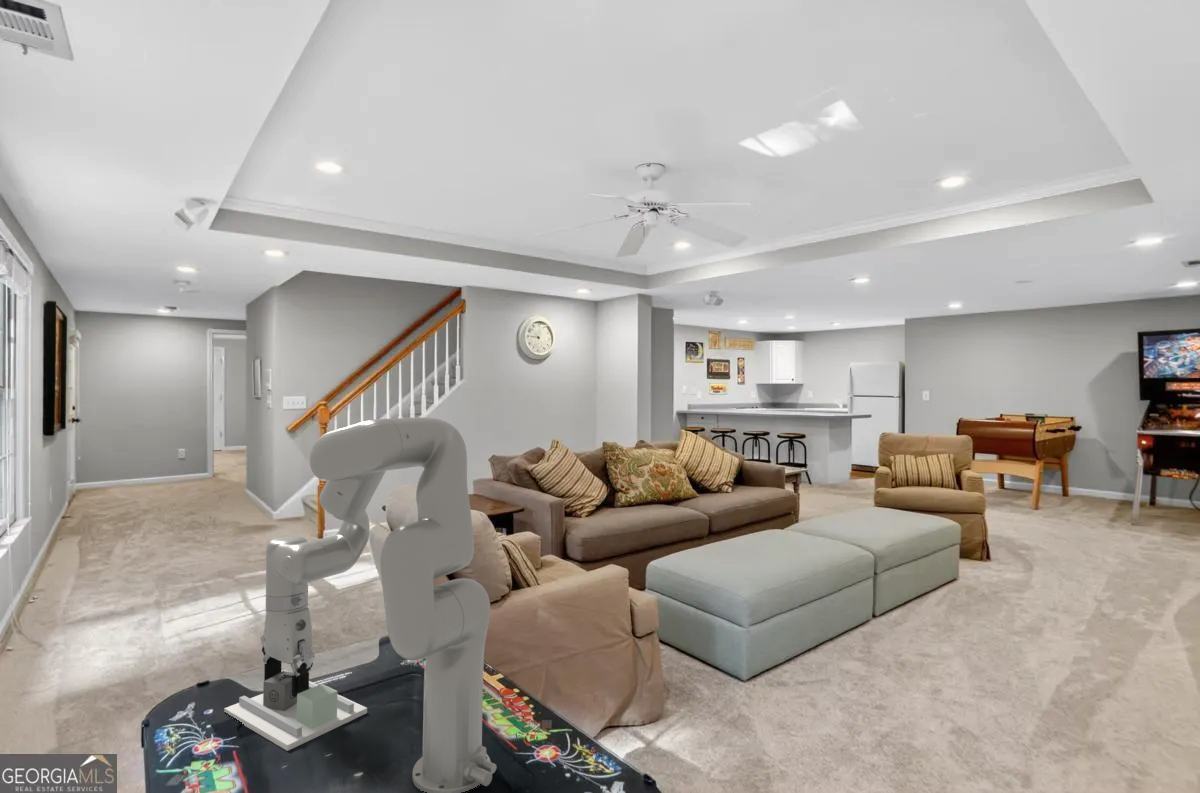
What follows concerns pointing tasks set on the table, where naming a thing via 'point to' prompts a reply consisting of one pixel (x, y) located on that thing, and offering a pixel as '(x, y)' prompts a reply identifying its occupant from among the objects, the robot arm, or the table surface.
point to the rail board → (293, 717)
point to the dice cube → (279, 692)
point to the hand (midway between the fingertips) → (286, 687)
